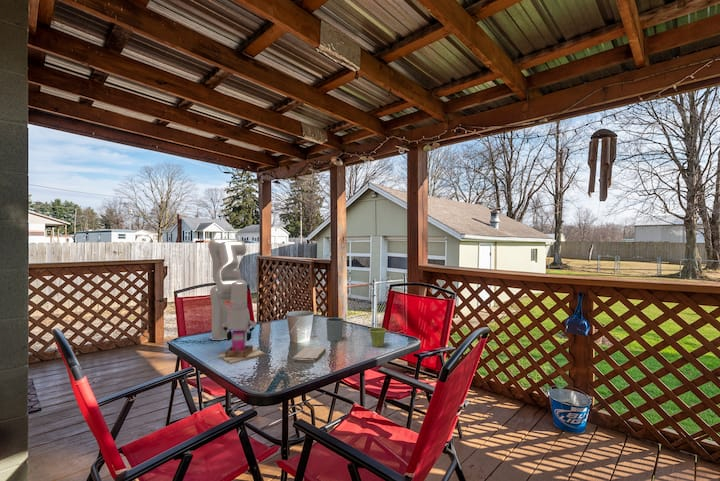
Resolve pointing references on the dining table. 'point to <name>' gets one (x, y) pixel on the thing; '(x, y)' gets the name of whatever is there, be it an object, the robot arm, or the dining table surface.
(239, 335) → the supplement box
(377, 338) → the plant pot
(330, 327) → the grey green embossed cup
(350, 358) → the dining table surface
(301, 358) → the washcloth
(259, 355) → the collar holder
